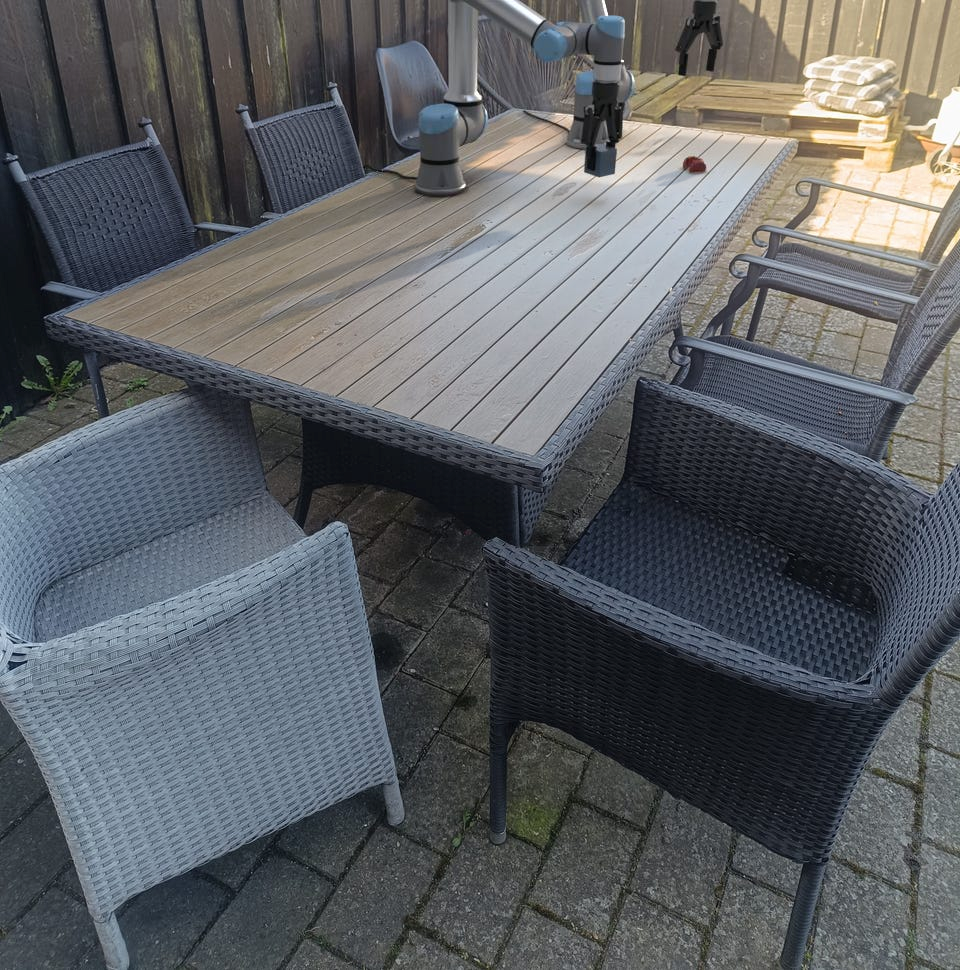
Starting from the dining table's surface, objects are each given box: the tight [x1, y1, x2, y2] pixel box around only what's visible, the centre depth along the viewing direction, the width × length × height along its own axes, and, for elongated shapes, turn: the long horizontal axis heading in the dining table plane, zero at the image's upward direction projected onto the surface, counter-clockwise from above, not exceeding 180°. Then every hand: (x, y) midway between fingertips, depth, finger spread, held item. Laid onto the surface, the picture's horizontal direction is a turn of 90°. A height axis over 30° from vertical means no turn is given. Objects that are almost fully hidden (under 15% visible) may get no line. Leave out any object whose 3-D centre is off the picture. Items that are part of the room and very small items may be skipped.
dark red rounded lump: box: [682, 155, 707, 173], centre depth 275 cm, size 6×4×8 cm
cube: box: [583, 144, 618, 178], centre depth 243 cm, size 7×6×7 cm
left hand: (599, 167), depth 244 cm, fingers closed on cube, 6 cm apart
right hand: (695, 73), depth 280 cm, fingers open, 13 cm apart
